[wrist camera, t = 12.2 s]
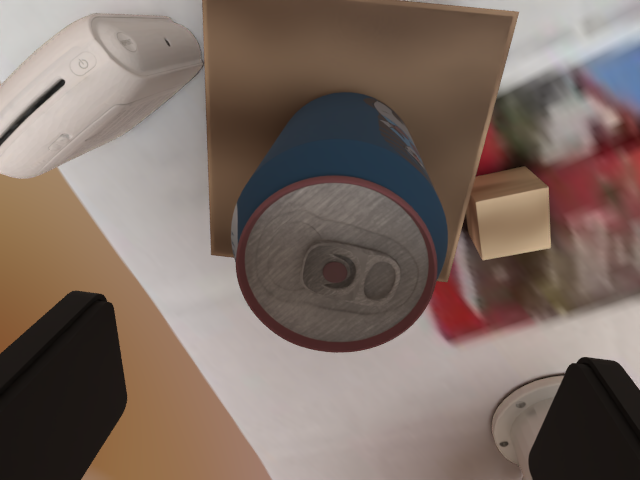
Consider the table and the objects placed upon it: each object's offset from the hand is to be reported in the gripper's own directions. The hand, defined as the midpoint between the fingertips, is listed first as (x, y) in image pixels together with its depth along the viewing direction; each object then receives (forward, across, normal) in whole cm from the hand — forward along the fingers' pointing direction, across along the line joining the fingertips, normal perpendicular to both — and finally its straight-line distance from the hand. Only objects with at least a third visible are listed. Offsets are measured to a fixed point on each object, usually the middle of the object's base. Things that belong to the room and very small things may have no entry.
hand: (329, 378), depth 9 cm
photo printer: (+25, +15, -2) cm, 29 cm away
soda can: (+16, 0, 0) cm, 16 cm away
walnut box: (+25, +1, -1) cm, 25 cm away
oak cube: (+25, -11, +4) cm, 28 cm away
